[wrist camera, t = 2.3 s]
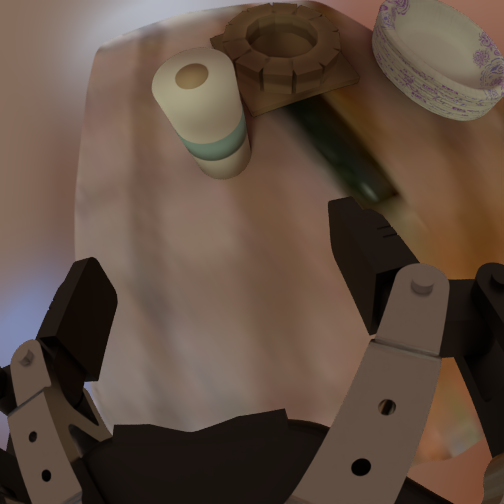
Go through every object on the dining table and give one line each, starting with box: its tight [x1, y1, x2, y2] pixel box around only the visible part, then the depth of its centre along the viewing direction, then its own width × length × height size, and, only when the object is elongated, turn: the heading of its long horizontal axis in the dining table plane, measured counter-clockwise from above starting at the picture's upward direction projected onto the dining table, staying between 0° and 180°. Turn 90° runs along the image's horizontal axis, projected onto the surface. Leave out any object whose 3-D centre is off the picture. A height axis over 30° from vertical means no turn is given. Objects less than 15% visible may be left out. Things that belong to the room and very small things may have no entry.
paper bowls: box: [371, 0, 504, 121], centre depth 23 cm, size 15×15×8 cm
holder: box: [210, 3, 360, 117], centre depth 27 cm, size 12×12×4 cm
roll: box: [152, 48, 251, 179], centre depth 22 cm, size 5×5×12 cm
